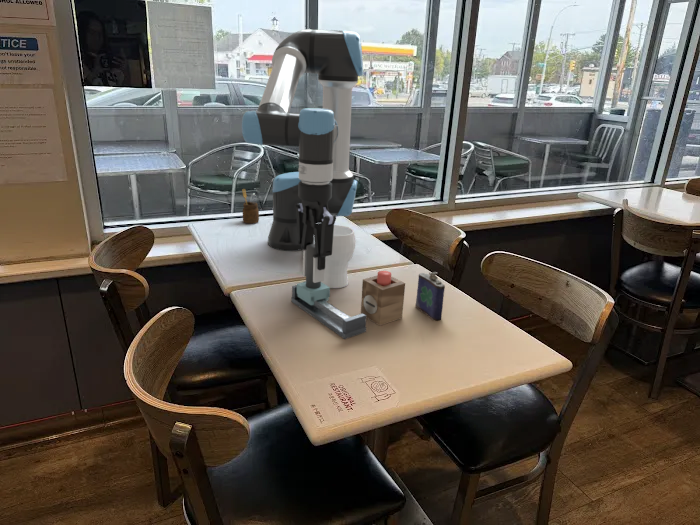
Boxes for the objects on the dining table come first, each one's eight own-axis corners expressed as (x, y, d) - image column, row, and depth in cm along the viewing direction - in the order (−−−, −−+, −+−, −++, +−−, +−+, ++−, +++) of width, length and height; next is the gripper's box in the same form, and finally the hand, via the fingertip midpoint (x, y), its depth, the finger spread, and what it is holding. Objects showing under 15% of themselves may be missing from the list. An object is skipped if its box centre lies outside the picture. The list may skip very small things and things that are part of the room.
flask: (413, 305, 124) (417, 266, 120) (422, 304, 125) (427, 264, 121) (434, 322, 116) (440, 280, 113) (445, 320, 118) (450, 278, 114)
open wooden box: (358, 314, 118) (360, 279, 115) (382, 306, 123) (385, 273, 119) (377, 326, 113) (380, 290, 110) (402, 317, 118) (405, 283, 114)
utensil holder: (251, 225, 181) (251, 192, 177) (238, 221, 184) (237, 190, 180) (262, 221, 186) (261, 190, 182) (249, 218, 189) (248, 187, 185)
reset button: (373, 290, 116) (374, 272, 114) (383, 287, 118) (385, 269, 116) (382, 295, 114) (383, 277, 112) (392, 292, 116) (394, 274, 114)
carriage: (296, 296, 121) (297, 244, 116) (315, 291, 124) (316, 240, 119) (310, 305, 116) (311, 252, 112) (329, 300, 120) (331, 248, 115)
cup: (306, 282, 135) (307, 229, 130) (333, 272, 142) (335, 222, 137) (334, 294, 128) (336, 239, 123) (361, 283, 136) (364, 231, 130)
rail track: (291, 301, 123) (291, 286, 122) (311, 296, 127) (311, 281, 125) (344, 339, 107) (345, 321, 106) (366, 331, 110) (367, 314, 109)
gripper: (281, 175, 114) (282, 270, 122) (322, 190, 102) (320, 294, 110) (308, 173, 118) (307, 264, 127) (351, 187, 106) (346, 286, 114)
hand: (313, 277), depth 118 cm, fingers closed on carriage, 4 cm apart
